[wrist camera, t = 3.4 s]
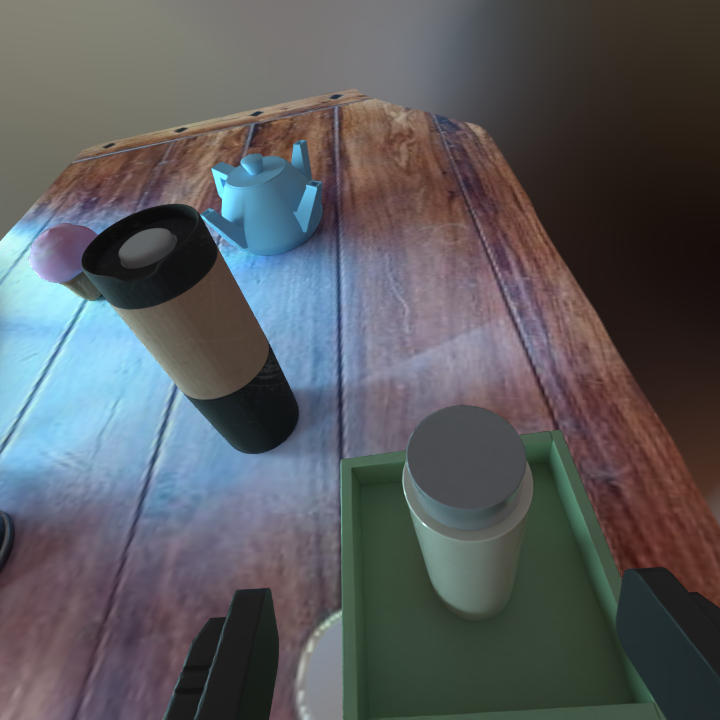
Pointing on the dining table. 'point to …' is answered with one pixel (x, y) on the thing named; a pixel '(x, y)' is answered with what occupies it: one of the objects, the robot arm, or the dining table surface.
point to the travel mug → (194, 322)
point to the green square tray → (492, 636)
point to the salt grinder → (468, 506)
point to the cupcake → (64, 258)
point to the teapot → (267, 202)
